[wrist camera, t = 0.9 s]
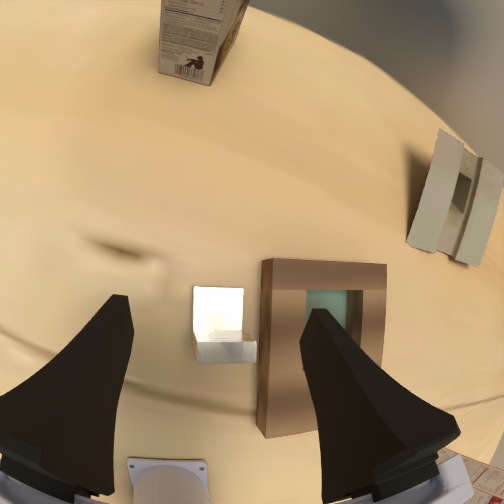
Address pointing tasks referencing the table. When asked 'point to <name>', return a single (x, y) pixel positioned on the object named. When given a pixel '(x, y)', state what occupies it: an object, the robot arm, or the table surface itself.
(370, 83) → the table surface
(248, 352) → the grey block
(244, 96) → the table surface
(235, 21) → the coffee box
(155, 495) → the robot arm
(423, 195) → the grey slanted stand
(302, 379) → the well block
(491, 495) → the cracker box
